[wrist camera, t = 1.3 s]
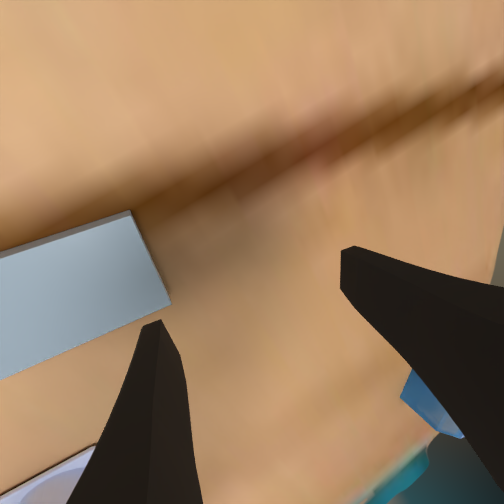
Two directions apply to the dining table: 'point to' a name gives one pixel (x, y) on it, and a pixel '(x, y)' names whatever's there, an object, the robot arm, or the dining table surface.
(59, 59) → the dining table surface
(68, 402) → the dining table surface
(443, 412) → the perfume bottle
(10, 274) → the lid
